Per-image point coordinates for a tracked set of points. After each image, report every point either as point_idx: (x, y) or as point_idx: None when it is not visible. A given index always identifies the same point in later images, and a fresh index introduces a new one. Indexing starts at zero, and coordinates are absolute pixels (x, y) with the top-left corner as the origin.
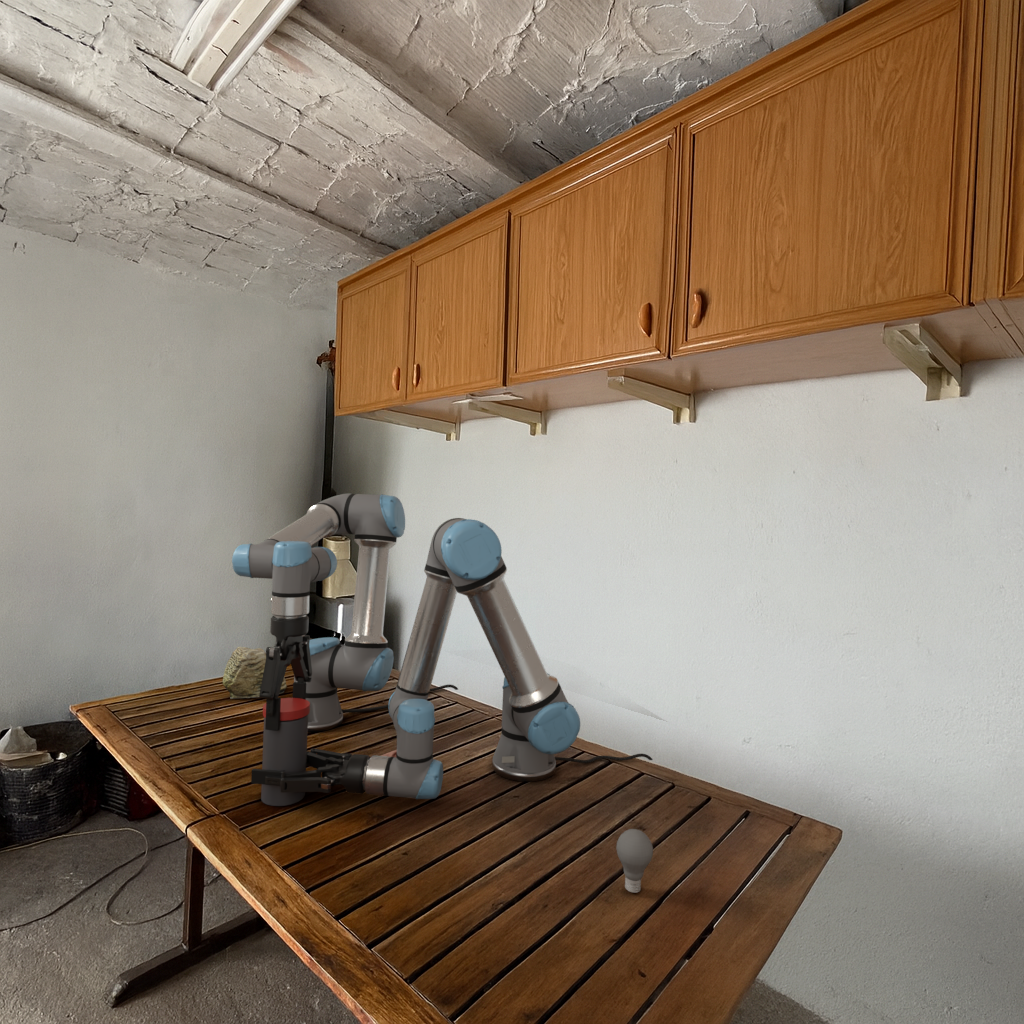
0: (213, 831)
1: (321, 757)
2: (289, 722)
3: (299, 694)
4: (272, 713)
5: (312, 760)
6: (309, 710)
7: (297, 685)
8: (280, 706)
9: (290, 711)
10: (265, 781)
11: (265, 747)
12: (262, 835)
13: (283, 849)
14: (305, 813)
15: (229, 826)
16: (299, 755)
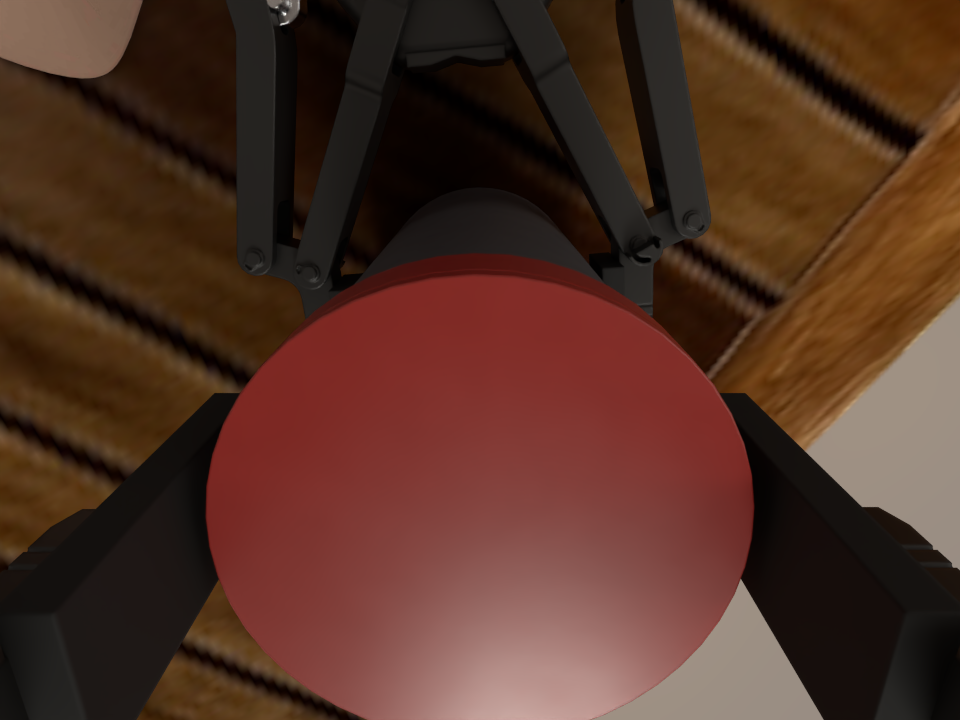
0: (798, 388)
1: (347, 147)
2: None
3: (168, 559)
4: (905, 524)
5: (352, 210)
6: (391, 272)
7: (109, 686)
8: (827, 522)
9: (707, 392)
10: None
11: None
12: (815, 192)
13: (924, 38)
14: (608, 102)
15: (757, 354)
16: (533, 223)
